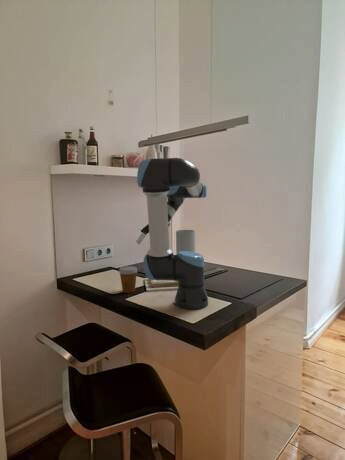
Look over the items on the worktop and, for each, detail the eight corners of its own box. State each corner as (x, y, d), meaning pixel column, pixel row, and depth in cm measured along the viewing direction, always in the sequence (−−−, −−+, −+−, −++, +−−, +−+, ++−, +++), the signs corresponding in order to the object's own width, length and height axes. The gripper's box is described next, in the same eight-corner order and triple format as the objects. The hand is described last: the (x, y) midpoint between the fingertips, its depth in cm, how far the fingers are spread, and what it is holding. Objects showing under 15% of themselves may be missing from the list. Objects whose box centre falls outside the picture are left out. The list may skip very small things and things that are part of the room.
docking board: (188, 289, 161) (188, 283, 161) (146, 291, 158) (146, 285, 158) (181, 277, 183) (181, 272, 182) (144, 279, 179) (144, 274, 179)
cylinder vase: (187, 265, 215) (187, 229, 212) (199, 268, 204) (198, 231, 201) (172, 267, 208) (172, 230, 205) (183, 271, 198) (183, 232, 195)
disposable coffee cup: (141, 290, 160) (141, 267, 158) (127, 295, 153) (126, 271, 151) (130, 287, 166) (129, 265, 165) (115, 291, 159) (114, 268, 158)
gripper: (184, 220, 165) (163, 252, 157) (156, 217, 183) (136, 245, 176) (177, 211, 160) (154, 243, 153) (148, 209, 179) (127, 237, 172)
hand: (144, 244), depth 164 cm, fingers open, 13 cm apart
